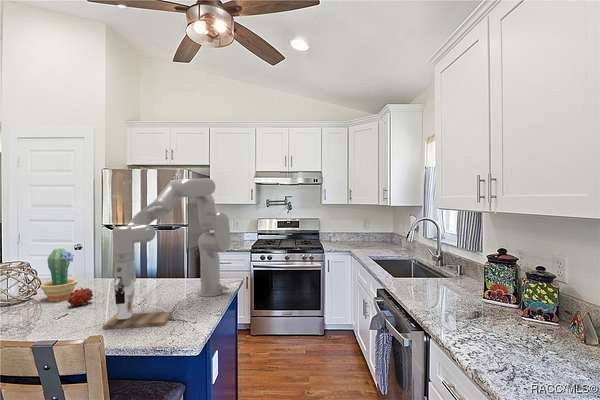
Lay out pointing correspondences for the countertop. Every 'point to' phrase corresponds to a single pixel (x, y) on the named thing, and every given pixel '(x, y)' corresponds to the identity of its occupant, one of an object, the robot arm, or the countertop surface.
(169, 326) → the countertop surface
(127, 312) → the beer glass
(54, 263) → the potted cactus
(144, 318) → the oak board
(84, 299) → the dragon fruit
